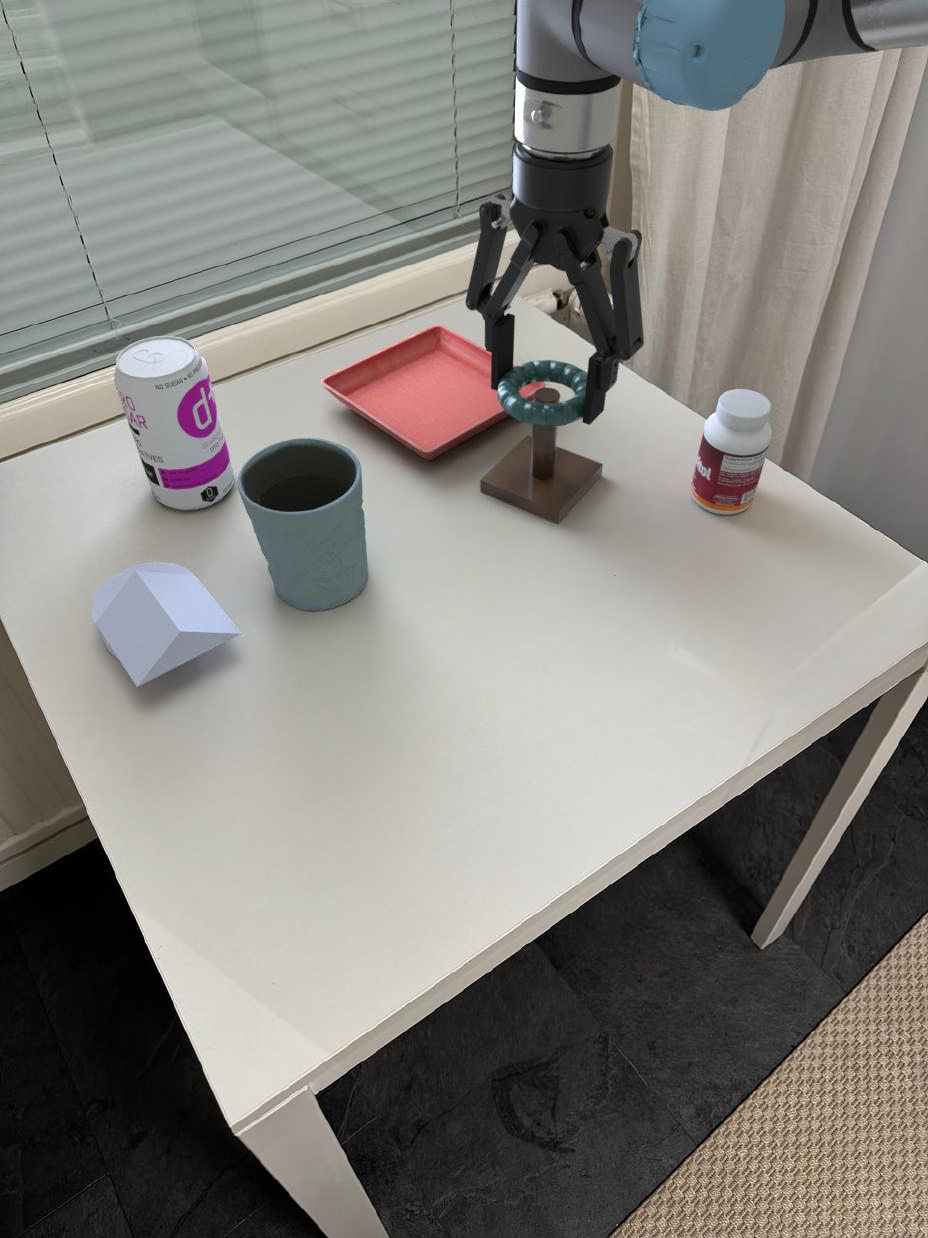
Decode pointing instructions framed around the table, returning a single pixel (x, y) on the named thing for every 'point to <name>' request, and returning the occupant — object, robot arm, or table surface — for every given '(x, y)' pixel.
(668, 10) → the robot arm
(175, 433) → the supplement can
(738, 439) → the pill bottle
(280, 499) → the blue-grey embossed cup
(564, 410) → the teal beaded ring
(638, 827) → the table surface
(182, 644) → the wedge on round base
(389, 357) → the plant saucer
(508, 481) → the stand
